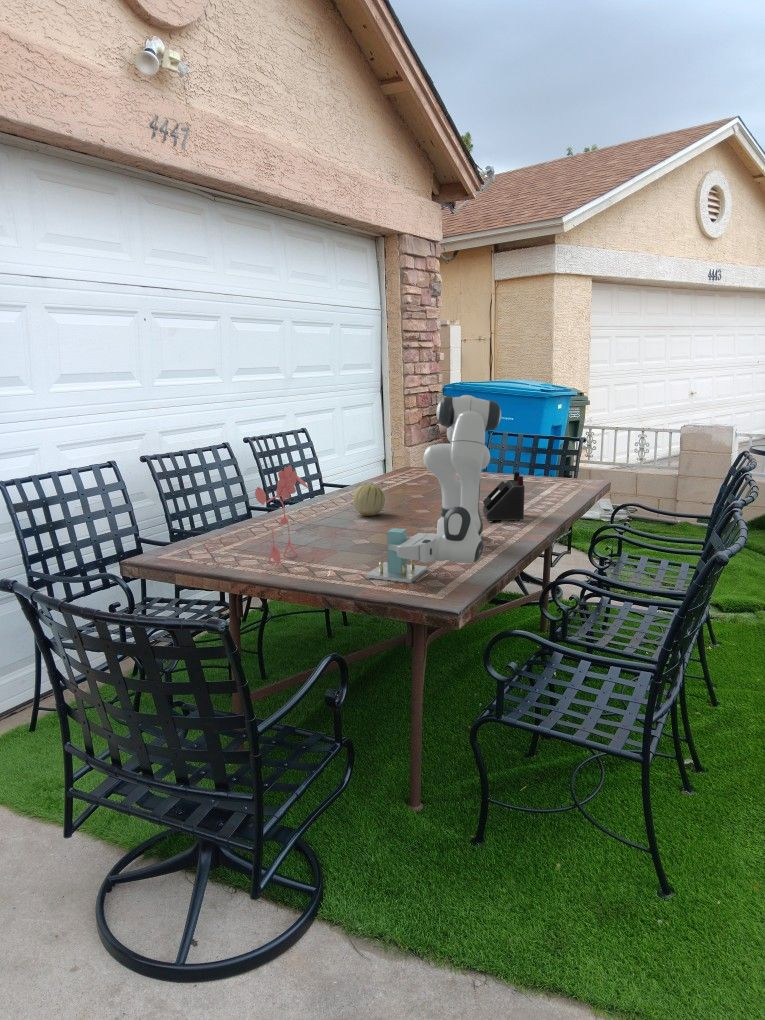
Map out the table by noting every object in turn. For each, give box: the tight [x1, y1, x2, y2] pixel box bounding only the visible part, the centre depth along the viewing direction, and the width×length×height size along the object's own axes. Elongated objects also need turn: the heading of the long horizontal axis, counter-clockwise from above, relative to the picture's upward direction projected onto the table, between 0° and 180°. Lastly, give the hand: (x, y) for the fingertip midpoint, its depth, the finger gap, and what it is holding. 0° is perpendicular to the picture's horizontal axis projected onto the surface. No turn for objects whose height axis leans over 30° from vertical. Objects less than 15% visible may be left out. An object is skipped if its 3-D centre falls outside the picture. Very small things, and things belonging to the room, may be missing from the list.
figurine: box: [254, 464, 314, 567], centre depth 261 cm, size 15×26×35 cm, turn 151°
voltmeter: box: [482, 471, 526, 523], centre depth 324 cm, size 16×16×20 cm
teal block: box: [386, 527, 408, 573], centre depth 246 cm, size 5×5×14 cm
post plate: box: [365, 560, 428, 584], centre depth 248 cm, size 16×16×5 cm
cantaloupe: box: [352, 482, 386, 517], centre depth 335 cm, size 15×15×15 cm
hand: (394, 543), depth 246 cm, fingers open, 8 cm apart
